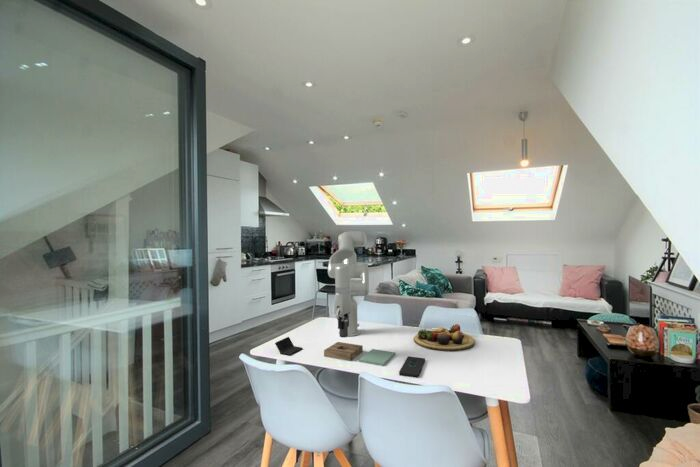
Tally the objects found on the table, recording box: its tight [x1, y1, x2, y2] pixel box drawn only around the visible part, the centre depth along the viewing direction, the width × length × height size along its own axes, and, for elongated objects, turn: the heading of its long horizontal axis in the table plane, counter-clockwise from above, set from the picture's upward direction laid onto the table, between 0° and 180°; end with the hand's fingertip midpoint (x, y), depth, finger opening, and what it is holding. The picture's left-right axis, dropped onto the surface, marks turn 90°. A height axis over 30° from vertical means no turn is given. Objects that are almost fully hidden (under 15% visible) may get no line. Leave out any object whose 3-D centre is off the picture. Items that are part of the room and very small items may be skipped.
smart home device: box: [398, 355, 426, 379], centre depth 144 cm, size 8×2×20 cm
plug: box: [339, 317, 349, 338], centre depth 162 cm, size 4×4×9 cm
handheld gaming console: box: [274, 336, 303, 357], centre depth 167 cm, size 12×7×10 cm
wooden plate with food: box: [413, 323, 476, 352], centre depth 179 cm, size 32×32×8 cm
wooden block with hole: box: [323, 341, 364, 362], centre depth 161 cm, size 14×14×3 cm
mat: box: [358, 348, 396, 367], centre depth 156 cm, size 16×12×1 cm
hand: (343, 327), depth 162 cm, fingers closed on plug, 4 cm apart
